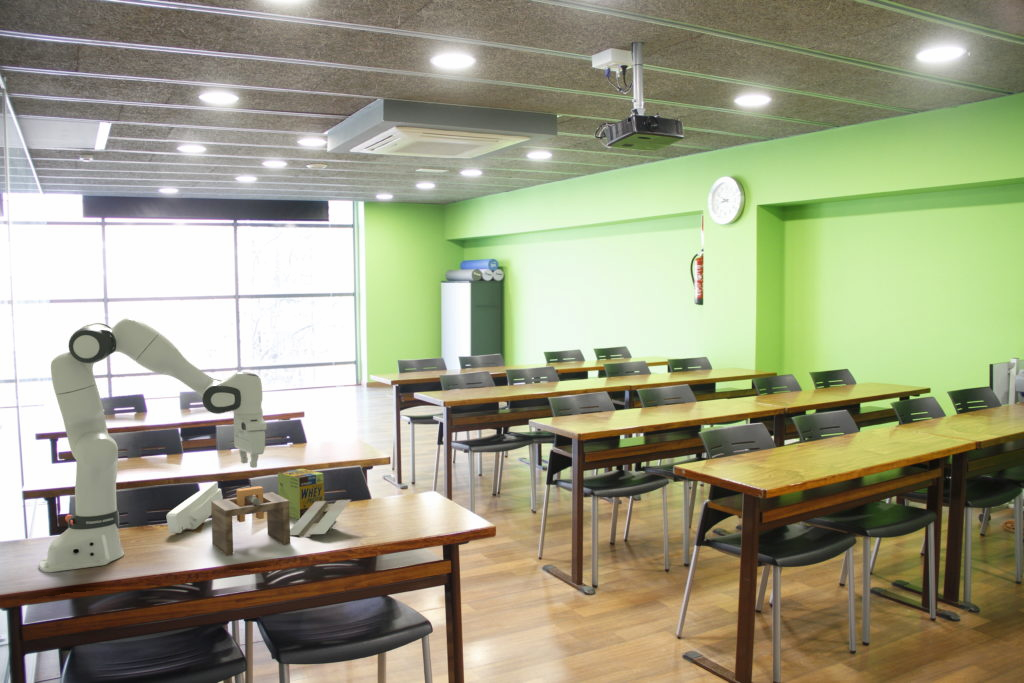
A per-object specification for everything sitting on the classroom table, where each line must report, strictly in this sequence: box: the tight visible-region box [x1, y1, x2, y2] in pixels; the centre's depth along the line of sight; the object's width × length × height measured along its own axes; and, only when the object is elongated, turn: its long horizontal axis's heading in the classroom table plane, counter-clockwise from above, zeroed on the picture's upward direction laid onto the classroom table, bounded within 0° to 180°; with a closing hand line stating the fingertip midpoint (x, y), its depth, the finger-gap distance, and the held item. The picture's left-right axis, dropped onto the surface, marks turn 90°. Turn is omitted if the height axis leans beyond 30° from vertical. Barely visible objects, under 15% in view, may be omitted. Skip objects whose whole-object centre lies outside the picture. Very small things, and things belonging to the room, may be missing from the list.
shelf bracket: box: [166, 481, 224, 534], centre depth 273 cm, size 6×27×14 cm, turn 169°
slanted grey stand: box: [290, 499, 352, 538], centre depth 263 cm, size 19×10×17 cm
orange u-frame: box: [235, 485, 265, 523], centre depth 249 cm, size 8×3×10 cm, turn 126°
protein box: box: [277, 468, 325, 521], centre depth 287 cm, size 10×15×16 cm
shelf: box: [211, 491, 291, 557], centre depth 249 cm, size 20×16×16 cm
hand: (248, 465), depth 249 cm, fingers open, 8 cm apart
